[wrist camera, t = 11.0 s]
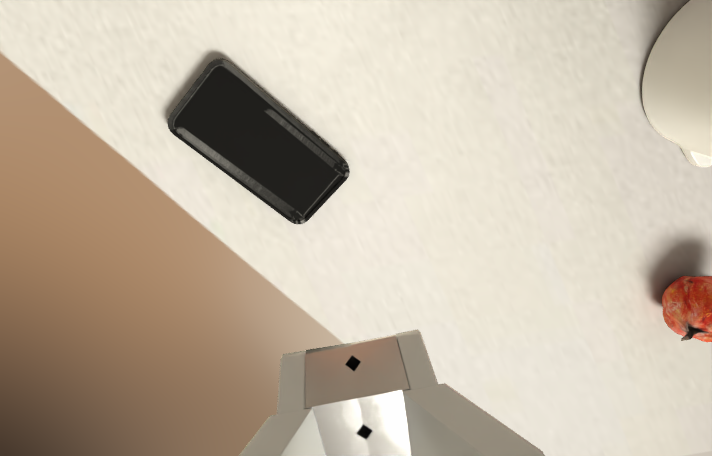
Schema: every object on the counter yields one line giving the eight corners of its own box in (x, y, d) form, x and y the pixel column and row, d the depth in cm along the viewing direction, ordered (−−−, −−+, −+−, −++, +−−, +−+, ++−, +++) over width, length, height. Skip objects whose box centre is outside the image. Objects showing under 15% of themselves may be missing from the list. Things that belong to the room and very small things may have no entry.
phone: (299, 228, 45) (161, 126, 39) (300, 223, 46) (165, 122, 40) (355, 169, 42) (217, 52, 37) (354, 165, 43) (220, 50, 38)
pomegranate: (686, 244, 54) (654, 293, 48) (767, 267, 49) (740, 324, 44) (673, 292, 58) (642, 342, 53) (746, 317, 53) (720, 374, 48)
